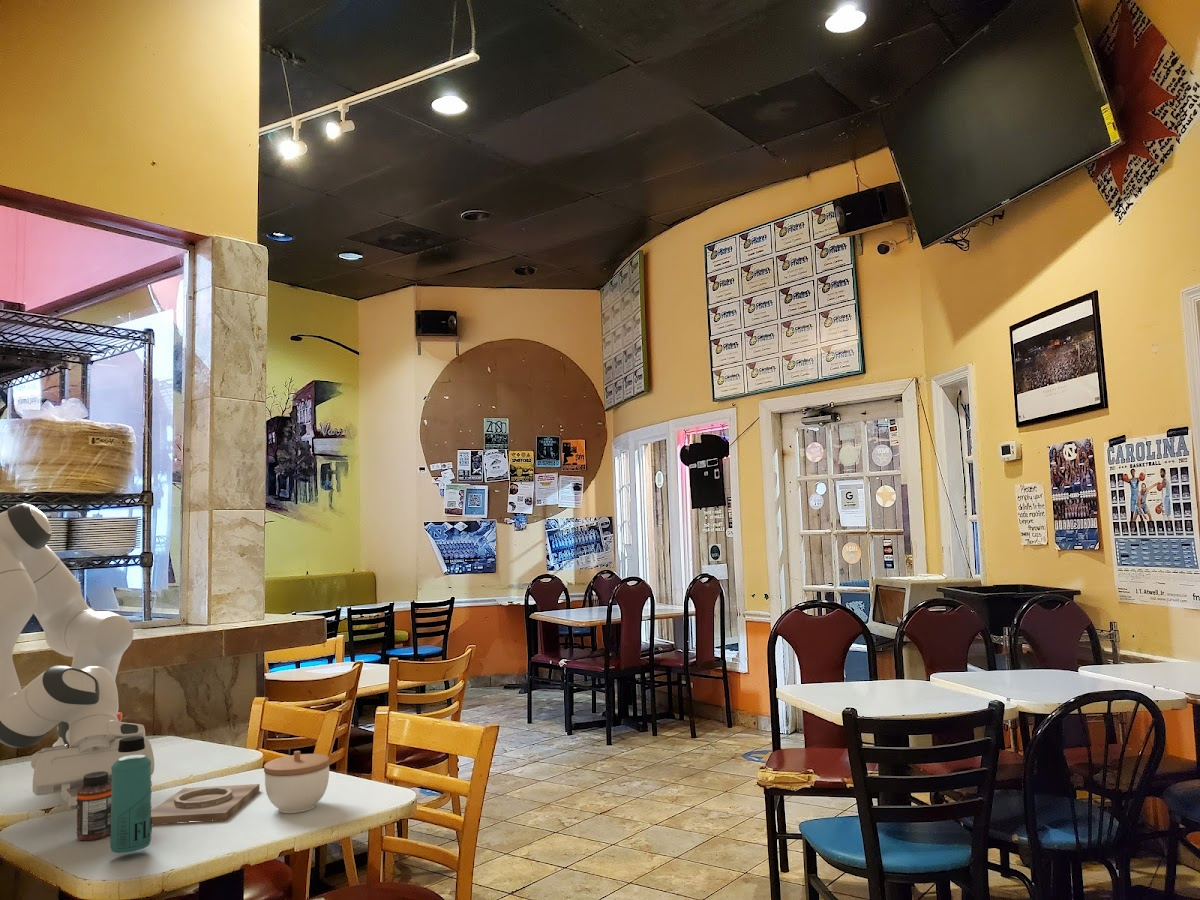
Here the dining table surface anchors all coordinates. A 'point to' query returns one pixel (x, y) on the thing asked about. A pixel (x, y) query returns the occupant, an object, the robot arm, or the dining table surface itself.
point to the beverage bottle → (131, 799)
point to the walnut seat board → (203, 804)
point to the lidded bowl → (296, 781)
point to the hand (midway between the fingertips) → (95, 804)
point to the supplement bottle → (94, 807)
